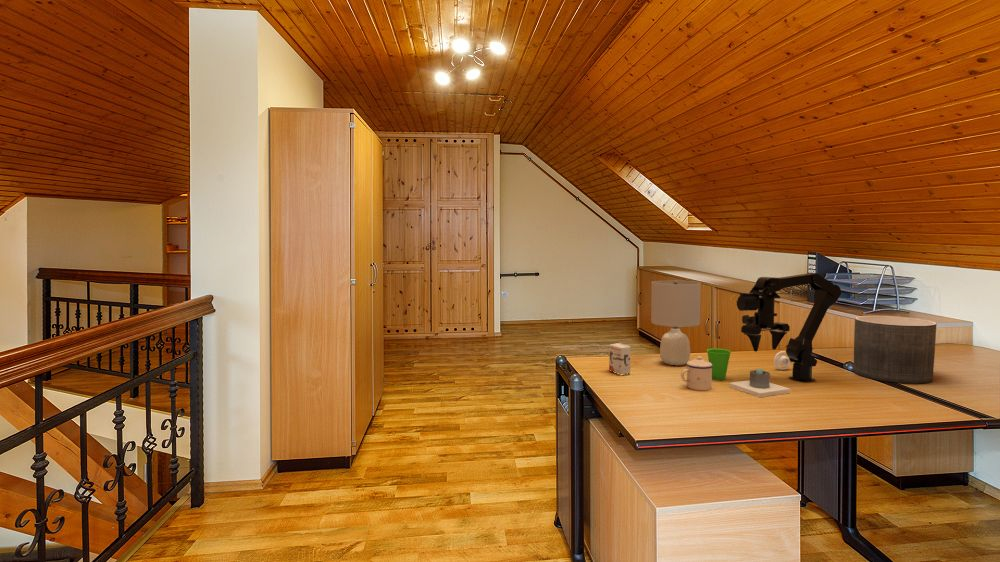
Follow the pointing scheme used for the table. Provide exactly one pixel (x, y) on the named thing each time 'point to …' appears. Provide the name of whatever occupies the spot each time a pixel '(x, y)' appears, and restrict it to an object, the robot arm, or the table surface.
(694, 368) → the teacup with lid
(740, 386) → the post block
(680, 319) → the lamp
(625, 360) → the ink box
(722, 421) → the table surface
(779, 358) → the ring around a ball
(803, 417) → the table surface
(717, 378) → the cup
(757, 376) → the steel collar
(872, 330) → the planter
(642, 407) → the table surface
